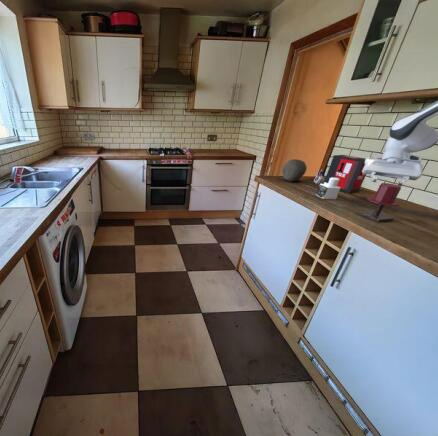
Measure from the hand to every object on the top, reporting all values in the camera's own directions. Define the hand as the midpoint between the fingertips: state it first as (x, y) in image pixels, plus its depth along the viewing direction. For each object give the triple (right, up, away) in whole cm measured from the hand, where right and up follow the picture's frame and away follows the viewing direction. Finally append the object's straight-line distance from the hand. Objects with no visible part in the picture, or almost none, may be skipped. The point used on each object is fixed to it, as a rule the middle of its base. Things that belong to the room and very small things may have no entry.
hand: (387, 183), depth 109 cm
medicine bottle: (-12, -5, +23) cm, 26 cm away
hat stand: (-7, -16, -1) cm, 18 cm away
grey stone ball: (-13, +10, +53) cm, 56 cm away
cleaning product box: (+11, +2, +40) cm, 41 cm away
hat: (-7, -9, -4) cm, 12 cm away
